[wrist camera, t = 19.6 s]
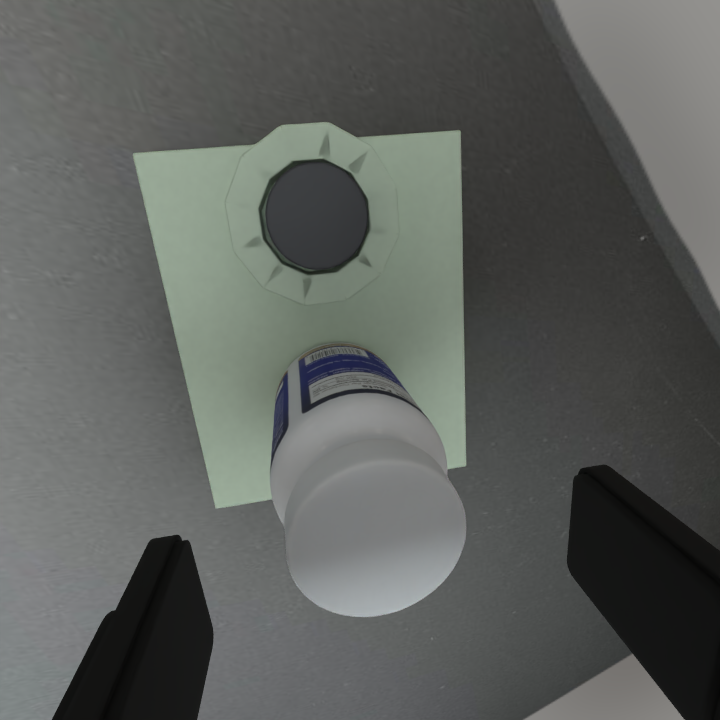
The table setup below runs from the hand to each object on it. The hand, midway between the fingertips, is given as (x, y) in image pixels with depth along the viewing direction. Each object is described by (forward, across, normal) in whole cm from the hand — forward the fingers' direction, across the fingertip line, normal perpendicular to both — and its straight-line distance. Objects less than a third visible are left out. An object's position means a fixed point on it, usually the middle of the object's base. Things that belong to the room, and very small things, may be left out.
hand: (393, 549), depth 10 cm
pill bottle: (+10, 0, 0) cm, 11 cm away
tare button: (+9, +1, -8) cm, 12 cm away
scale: (+12, +1, -3) cm, 13 cm away
